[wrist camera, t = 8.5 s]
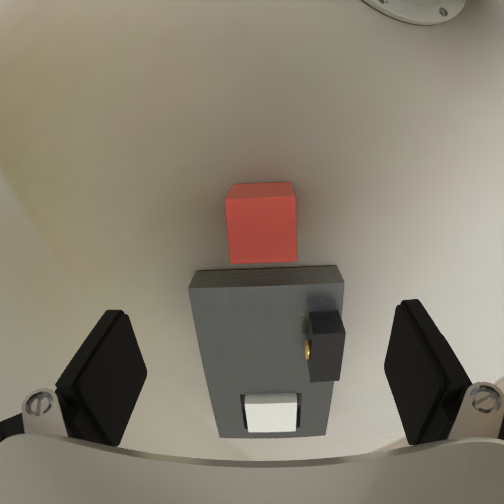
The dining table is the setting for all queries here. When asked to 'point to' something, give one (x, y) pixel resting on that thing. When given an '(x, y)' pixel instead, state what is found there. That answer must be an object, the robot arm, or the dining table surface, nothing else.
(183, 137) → the dining table surface
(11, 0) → the dining table surface
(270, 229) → the red block
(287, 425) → the button
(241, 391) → the panel
